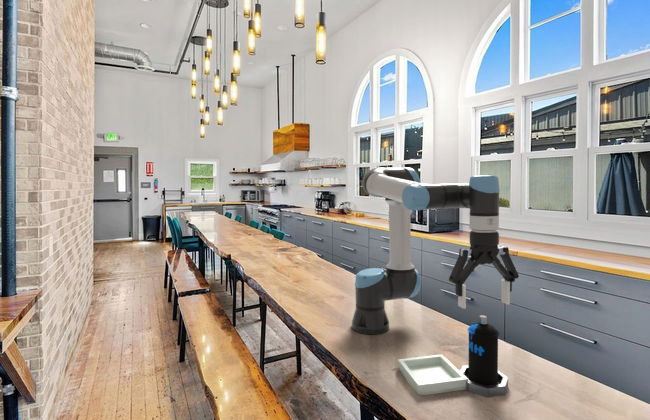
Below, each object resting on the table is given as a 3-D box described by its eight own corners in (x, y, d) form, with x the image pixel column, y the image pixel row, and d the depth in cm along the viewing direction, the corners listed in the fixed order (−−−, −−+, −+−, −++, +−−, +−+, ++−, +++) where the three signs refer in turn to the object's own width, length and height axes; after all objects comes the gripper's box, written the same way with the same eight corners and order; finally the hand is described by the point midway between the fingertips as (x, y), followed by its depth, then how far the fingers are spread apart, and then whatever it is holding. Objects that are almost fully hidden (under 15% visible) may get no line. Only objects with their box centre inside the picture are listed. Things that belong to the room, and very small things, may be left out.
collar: (451, 375, 109) (451, 367, 109) (488, 370, 111) (488, 362, 111) (475, 399, 97) (475, 390, 97) (516, 393, 99) (517, 384, 99)
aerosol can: (489, 375, 108) (490, 310, 107) (504, 391, 100) (505, 321, 99) (462, 376, 108) (463, 311, 107) (475, 392, 100) (475, 322, 98)
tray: (397, 368, 114) (397, 359, 113) (441, 363, 116) (441, 354, 116) (418, 395, 99) (418, 385, 99) (468, 389, 102) (468, 378, 101)
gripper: (449, 234, 95) (450, 313, 96) (533, 230, 99) (532, 305, 101) (436, 231, 102) (436, 304, 104) (514, 227, 107) (513, 297, 108)
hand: (483, 305), depth 102 cm, fingers open, 13 cm apart
